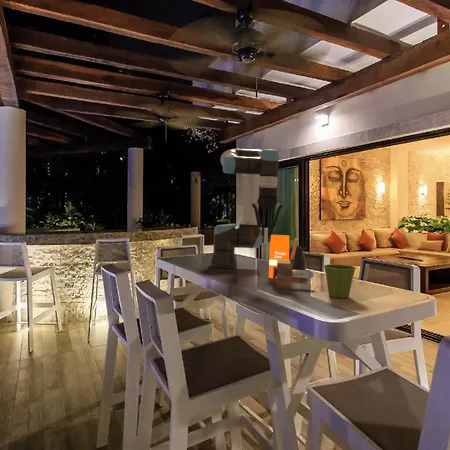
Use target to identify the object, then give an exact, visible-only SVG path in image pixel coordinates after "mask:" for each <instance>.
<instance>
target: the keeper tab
mask: <svg viewBox="0 0 450 450" xmlns="http://www.w3.org/2000/svg"><path fill="white" fill-rule="evenodd" d="M298 241H299V239H298V238H296V237H295V238H294V242H293V245H292V246H293V250H292V255H291V258H290V259H294V256H295V252H296V247H297V245H298Z"/></svg>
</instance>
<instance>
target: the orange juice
mask: <svg viewBox="0 0 450 450" xmlns="http://www.w3.org/2000/svg"><path fill="white" fill-rule="evenodd" d="M269 246H270V247H269V261H268V262H269V264H268V267H269V268H268V278H269V279H273V266H276V269H277V260H289V250H290V235H287V234H286V235H285V234H284V235H283V234H271V235H270V245H269ZM276 278H277V276H276Z"/></svg>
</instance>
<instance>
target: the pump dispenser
mask: <svg viewBox="0 0 450 450" xmlns="http://www.w3.org/2000/svg"><path fill="white" fill-rule="evenodd" d="M293 246H294V245H292V246H291V247H289V260H290V256H291V255H292V250H293ZM304 251H307V247H301V246H300V245H298V244H297V247H296V252H295V256H294V259H295V261H294V264H292V270H305V271H307V263H306V258H305V254H304Z"/></svg>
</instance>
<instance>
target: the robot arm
mask: <svg viewBox="0 0 450 450" xmlns="http://www.w3.org/2000/svg"><path fill="white" fill-rule="evenodd" d="M279 160H280V157H279V151H278V150H276V149H268V148H267V149H262V150H261V149H256V148H255V149H253V148H230V149H228V150H225V151H224V152H222V154H221V156H220V164H221V166H222V172H223V173H224V174H230V175H231V174H233V175H234V174H237V175H239V174H240V175H242V176H243V189H242V190H243V192H242V193H243V194H242V217H241V219H242V220H241V221H240V222H239V223H238V224H239V225H238V226H237V225H236V224H235V223H229V224H227V223H226V224H218V225H216V226H215V227H214V230H213V232H214V233H213V251H212V252H213V253H212V256H211V258H210V261H209V267H212V268H216V269H235V268H238V261H237V260H238V259H237V257H236V253H235V251H236V250H235V249H236V248H237V249H242V248H243V249H256V248H257V249H258V248H260V246H261V245H262V242H263V245H268V243H269V238H268V237H271V235H272V229H273V228H276V225H277V221H278V218H279V215H280V211H281V209H282V208H283V204H281V203H279V200H278V199H277V198H278V188H277V187H278V183H279V179H278V177H279V176H278V175H279V174H278V173H279ZM259 207H260V208H261V209H262V213H261V214H262V216H261V220H260V214H259ZM274 208H277V209H276V212H275V215H274V219H273V223H272V215H273V214H272V213H273V212H272V210H274ZM267 210H268V219H267V220H268V221H267V227H266V211H267Z"/></svg>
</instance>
